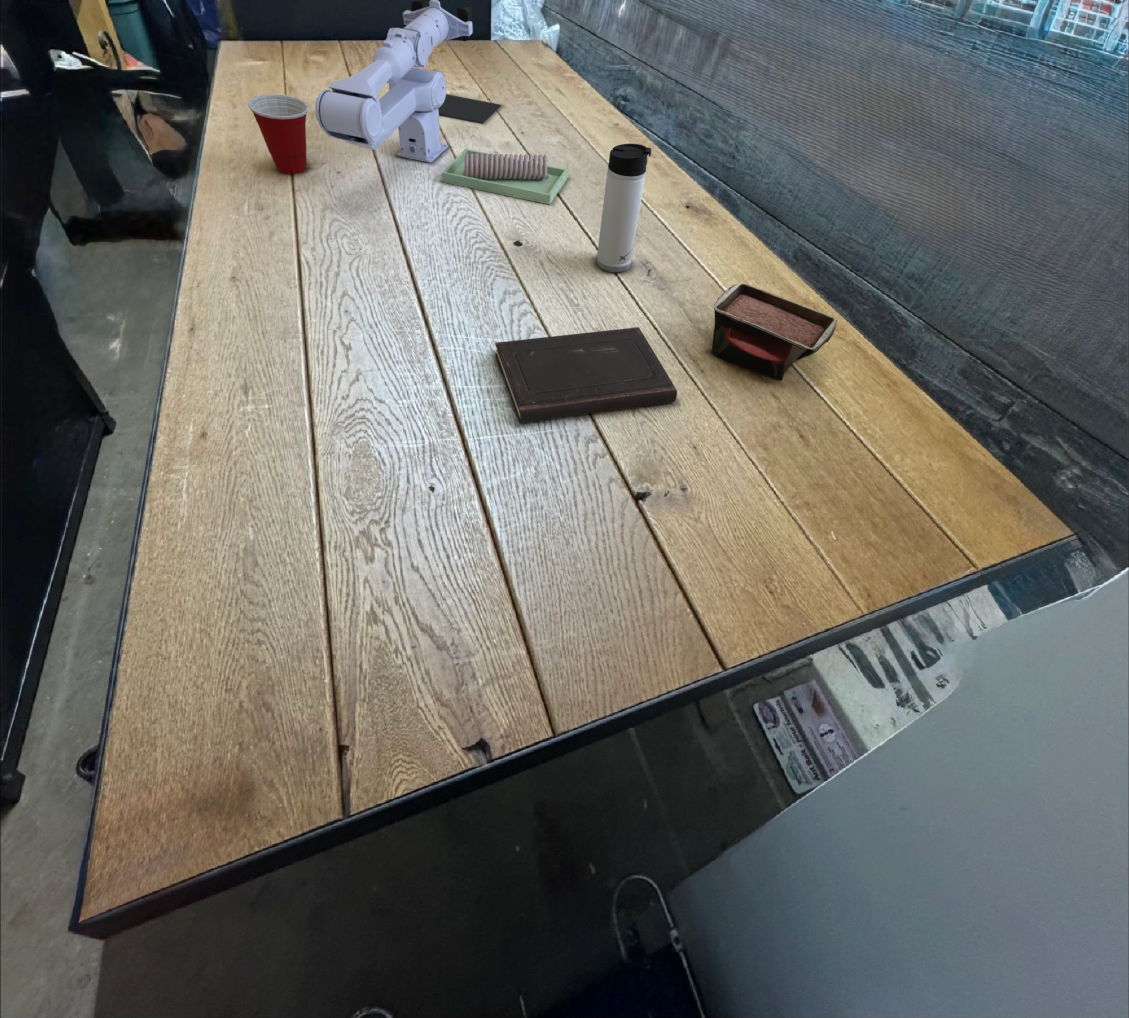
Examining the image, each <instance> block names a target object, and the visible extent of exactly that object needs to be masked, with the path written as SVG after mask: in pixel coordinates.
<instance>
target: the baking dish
mask: <svg viewBox="0 0 1129 1018" xmlns="http://www.w3.org/2000/svg"><path fill="white" fill-rule="evenodd" d="M713 310H714V324H713V325H714V326H713V335H712V344H711V350H710V351H711V352H710V354H711V355H713V356H714V357H716V358H719V359H721V360H723V361H726V362H728V363H730V364H733V365H735V366H737V367H739V368H740V367H741V368H743V369H745V370H748V371H750V372H754V373H756V374H759V375H760V376H765V377H767V378H770V379H772V380H775V381H779V382H780V381H783V379H784V376H785V374H786V372H787V371H788V370H789V369H790V368H791V367H792V365H793V364H794V363H795V362H796V361H798V360H799V361H800V360H802V359H804V358H807V357H809V356H811V355H813V354H815V353H817V352H819V350H820V349H821V348H822V347H823V346H824V345H825V344H826V343H828V342H829V341H830V340H831V339H832V337H833V336H834V334H835V330H836V326H837V322H838V320H837V318H836V317H835V316H833V315H831V314H830V315H829V314H827V313H825V312H822V311H819V310H817V309H814V308H811V307H809V306H807V305H803V304H801V303H798V302H795V301H793V300H790V299H787V298H786V297H783V296H780V295H778V294H775V293H772V292H770V291H768V290H764V289H762V288H759V287H757V286H753V285H751V284H750V283H749V284H748V283H744V282H739V283H736V284H733V285H732V286H730V287H729V288H728V289H726V291H725V292H723V293H722V294H721V295H720V296H719V297H717V299H716V301H715V303H714V304H713Z"/></svg>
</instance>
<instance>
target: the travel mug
mask: <svg viewBox="0 0 1129 1018" xmlns="http://www.w3.org/2000/svg"><path fill="white" fill-rule="evenodd" d="M651 156H652V148H651V147H647V146H646V145H643V144H640V143H622V144H621V143H620V144H618V145H617V144H616V145H615V146H613V147H612V149H611V150H610V151H609V158H608V164H607V171H606V180H605V187H604V195H603V204H602V210H601V211H602V212H601V219H600V228H599V237H598V244H597V253H596V259H595V260H596V264H597V266H598V267H599V268H600V269H602V270H603V271H605V272H608V273H623V272H625V271H628V270H629V269H630V268H631V266H632V258H633V253H634V247H635V241H636V235H637V229H638V223H639V216H640V211H641V206H642V205H641V204H642V199H643V193H644V187H645V180H646V174H647V165H648V157H651Z"/></svg>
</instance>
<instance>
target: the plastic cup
mask: <svg viewBox="0 0 1129 1018" xmlns="http://www.w3.org/2000/svg"><path fill="white" fill-rule="evenodd" d="M247 106H248V108H249V109H250V111H251V113H252V114H253V116H254V118H255V121H256V123H257V125H258V127H259V130H260V132H261V135H262V138H263V139H264V140H263V141H264V142H265V145H266V147H267V151H268V152H269V154H270V157H271V158H272V161H273V163H274V166H275V167H276V169H277V171H278V172H280V173H282V174H286V175H297V174H300V173H303V172H305V171H306V170H307V164H308V161H307V128H306V127H307V126H306V123H307V114H309V104H308V103H307V102H306V101H304V100H303V99H300V98H298V97H297V96H296V97H295V96H292V95H287V94H279V93H269V94H268V93H265V94H264V93H263V94H259V95H256V96H253V97H252V98H250V99H249V100H248V102H247Z"/></svg>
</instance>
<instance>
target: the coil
mask: <svg viewBox="0 0 1129 1018" xmlns="http://www.w3.org/2000/svg"><path fill="white" fill-rule="evenodd" d="M488 154H490V166H489V155H488ZM488 154H485V164H484V155H483V154H482V153H481V154H480V162H479V155H478V154H477V153H476V154H475V161H474V154H473V153H471V154H470V160H469V154H468V153H466V154H465V170H464V172H463V176H467V177H471V178H472V177H473V178H476V179H477V177H478V178H479V179H482V177H483V178H484V179H486V178H487V176H488V178H489V179H491V178H492V177H493V179H496V178H497V177H498V179H501V178H503V179H506V178H508V179H511V178H512V179H516V177H517V179H521V178H522V179H523V180H524V179H526V178H527V179H528V180H529V179H530V178H531V179H533V180H534V179H535V178H536V179H537V180H539V179H540V178H541V179H542V180H544V179H548V178H549V176H548V173H547V165H548V155H547V154H538V155H537V154H534V155H532V154H524V155H523V154H522V153H521V154H519V155H518V154H516V153H515V154H514V155H513V153H510V154H508V153H504V154H503V153H500V154H498V153H495V154H493V153H488ZM494 155H495V167H494ZM498 156H500V166H499V157H498ZM503 157H505V165H504V160H503ZM508 158H509V160H510V162H509V163H508ZM513 159H514V165H513ZM518 160H519V168H518ZM523 161H524V170H523ZM528 162H529V171H528ZM533 163H534V170H533ZM542 164H543V171H542ZM537 166H538V167H539V168H538V169H537Z"/></svg>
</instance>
